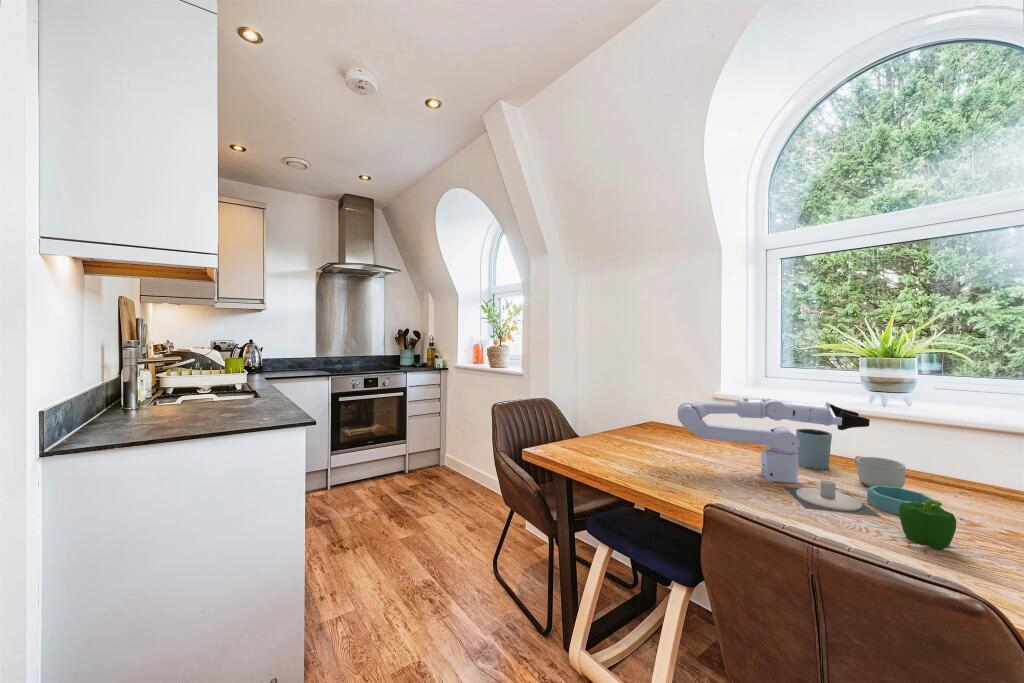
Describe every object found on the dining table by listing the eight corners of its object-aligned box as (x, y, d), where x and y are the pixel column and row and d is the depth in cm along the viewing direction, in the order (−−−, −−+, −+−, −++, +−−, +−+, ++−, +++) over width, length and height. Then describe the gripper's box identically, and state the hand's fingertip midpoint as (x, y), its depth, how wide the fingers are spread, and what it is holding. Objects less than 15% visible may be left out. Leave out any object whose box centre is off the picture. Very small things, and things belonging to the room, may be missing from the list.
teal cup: (829, 464, 143) (830, 430, 143) (833, 472, 134) (834, 436, 134) (794, 460, 148) (795, 427, 148) (796, 467, 140) (796, 432, 140)
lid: (808, 507, 105) (808, 488, 105) (788, 488, 118) (788, 471, 118) (874, 514, 101) (874, 495, 101) (845, 493, 114) (845, 476, 114)
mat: (805, 510, 104) (805, 508, 104) (783, 488, 119) (783, 486, 119) (881, 518, 100) (881, 516, 100) (847, 494, 115) (847, 492, 115)
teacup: (915, 496, 114) (915, 468, 114) (870, 493, 116) (871, 465, 116) (881, 479, 128) (881, 454, 128) (842, 477, 130) (842, 452, 130)
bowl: (886, 516, 101) (886, 500, 101) (860, 498, 112) (860, 483, 112) (947, 522, 98) (947, 506, 98) (913, 503, 109) (913, 488, 109)
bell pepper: (890, 531, 93) (891, 488, 93) (935, 537, 90) (936, 492, 90) (914, 549, 85) (915, 502, 85) (965, 556, 82) (966, 507, 82)
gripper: (816, 405, 118) (875, 411, 113) (802, 396, 131) (855, 401, 126) (814, 429, 118) (872, 436, 113) (800, 417, 132) (852, 423, 127)
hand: (863, 419), depth 120 cm, fingers open, 7 cm apart
